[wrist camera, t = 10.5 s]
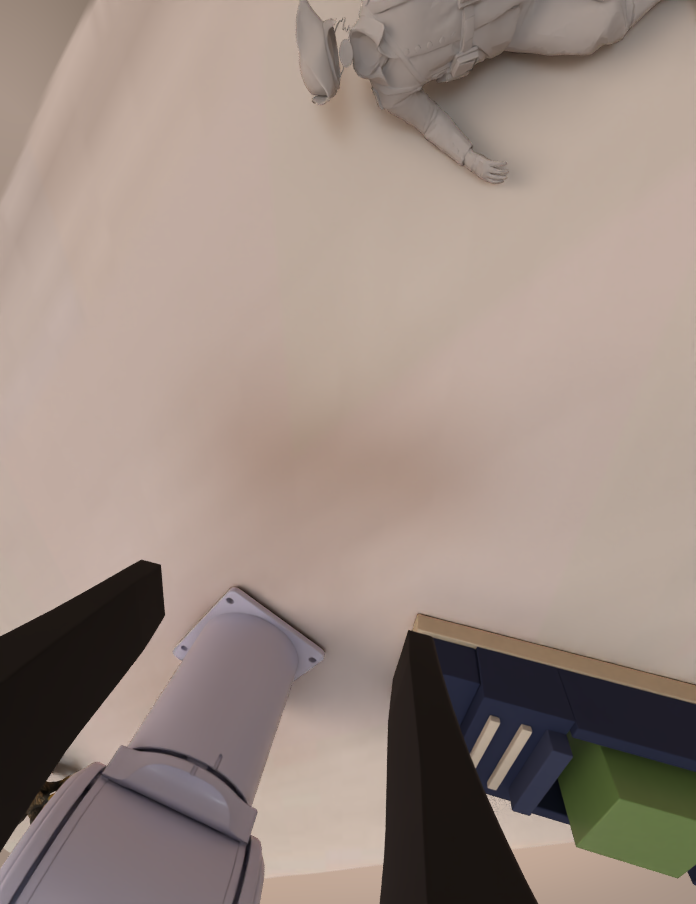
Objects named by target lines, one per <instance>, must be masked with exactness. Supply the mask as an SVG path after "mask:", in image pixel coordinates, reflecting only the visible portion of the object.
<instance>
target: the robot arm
mask: <svg viewBox="0 0 696 904" xmlns="http://www.w3.org/2000/svg"><path fill="white" fill-rule="evenodd" d="M164 616H165V610H164V598H163V585H162V573H161V565H160V564H156V563H152V562H148V561H144V560H140V561H138V562H136V563H135V564H133V565H131V566H129V567H127V568H126V569H124V570H122V571H120V572H119V573H117V574H115V575H113V576H112V577H110V578H108V579H106V580H105V581H103V582H101V583H99V584H98V585H96V586H94V587H92V588H91V589H89V590H87V591H85V592H83V593H82V594H80V595H78V596H76V597H74V598H73V599H71V600H69V601H67V602H65V603H64V604H62V605H60V606H58V607H56V608H55V609H53V610H51V611H49V612H47V613H45V614H43V615H41V616H39V617H37V618H35V619H33V620H31V621H29V622H28V623H26V624H24V625H22V626H20V627H18V628H16V629H14V630H12V631H10V632H8V633H6V634H4V635H2V636H0V852H1V850H2V849H3V847H4V845H5V844H6V842H7V841H8V839H9V838H10V836H11V834H12V833H13V831H14V830H15V828H16V827H17V825H18V824H19V822H20V820H21V819H22V817H23V816H24V814H25V813H26V811H27V809H28V808H29V806H30V805H31V803H32V802H33V800H34V798H35V797H36V795H37V794H38V792H39V791H40V789H41V788H42V786H43V785H44V783H45V782H46V780H47V779H48V777H49V776H50V774H51V773H52V771H53V770H54V768H55V767H56V765H57V764H58V762H59V761H60V759H61V758H62V756H63V755H64V753H65V752H66V750H67V749H68V748H69V746H70V745H71V744H72V742H73V741H74V740H75V738H76V737H77V735H78V734H79V733H80V731H81V730H82V729H83V728H84V726H85V725H86V724H87V722H88V721H89V720H90V719H91V717H92V716H93V715H94V714H95V712H96V711H97V710H98V708H99V707H100V706H101V705H102V703H103V702H104V701H105V699H106V698H107V697H108V696H109V694H110V693H111V692H112V691H113V689H114V688H115V687H116V685H117V684H118V683H119V682H120V680H121V679H122V678H123V676H124V675H125V674H126V673H127V671H128V670H129V669H130V667H131V666H132V665H133V663H134V662H135V661H136V660H137V658H138V657H139V656H140V654H141V653H142V652H143V650H144V649H145V647H146V646H147V644H148V642H149V641H150V639H151V638H152V636H153V635H154V633H155V631H156V630H157V628H158V626H159V625H160V623H161V621H162V620H163V618H164ZM173 654H174V656H176V657H177V658H178V659H180V660H181V661H182V662H181V663H180V665H179V667H178V668H177V670H176V671H175V673H174V674H173V676H172V677H171V679H170V680H169V682H168V684H167V685H166V687H165V688H164V690H163V691H162V693H161V694H160V696H159V697H158V699H157V701H156V702H155V704H154V705H153V707H152V708H151V710H150V711H149V713H148V715H147V716H146V718H145V719H144V721H143V722H142V724H141V725H140V727H139V728H138V730H137V732H136V733H135V735H134V736H133V738H132V740H131V741H130V743H129V744H128V746H127V747H126V746H123V745H121V746H120V747H119V748H118V750H117V751H116V753H115V755H114V756H113V758H112V759H111V761H110V762H109V764H108V765H107V767H106V765H104V764H102V763H100V762H94V763H92V764H90V765H89V766H88V767H86V768H84V769H82V770H80V771H78V772H76V773H74V774H73V775H72V776H70V777H69V778H68V779H67V780H66V781H65V782H64V784H63V785H62V786H61V787H60V788H59V789H58V790H57V792H56V793H55V794H54V795H53V796H52V798H51V799H50V800H49V801H48V803H47V804H46V805H45V806H44V808H43V809H42V810H41V812H40V813H39V814H38V816H37V817H36V818H35V820H34V821H33V822H32V824H31V825H30V826H29V828H28V829H27V831H26V832H25V833H24V835H23V836H22V838H21V839H20V840H19V842H18V843H17V845H16V846H15V848H14V849H13V851H12V852H11V853H10V855H9V856H8V858H7V859H6V861H5V862H4V864H3V865H2V867H1V869H0V904H259V903H260V899H261V893H262V887H263V881H264V860H263V856H262V847H261V842H260V840H259V839H258V838H256V837H254V836H252V835H251V831H252V828H253V825H254V822H255V819H256V816H257V810H256V809H255V808H253V807H252V804H253V801H254V798H255V794H256V791H257V788H258V785H259V782H260V779H261V776H262V773H263V770H264V767H265V764H266V761H267V758H268V755H269V752H270V749H271V746H272V743H273V740H274V737H275V734H276V731H277V728H278V725H279V722H280V719H281V716H282V713H283V710H284V707H285V704H286V701H287V698H288V695H289V692H290V689H291V686H292V683H293V682H294V681H295V680H297V679H298V678H299V677H301V676H302V675H303V674H305V673H306V672H307V671H309V670H310V669H311V668H313V667H314V666H316V665H317V664H318V663H320V662H321V661H322V660H323V659H324V656H325V652H324V650H323V649H321V648H320V647H319V646H317V645H316V644H315V643H313V642H312V641H310V640H309V639H308V638H306V637H305V636H304V635H302V634H301V633H299V632H298V631H297V630H295V629H294V628H293V627H291V626H290V625H288V624H287V623H286V622H284V621H283V620H282V619H280V618H279V617H277V616H276V615H275V614H273V613H272V612H271V611H269V610H268V609H266V608H265V607H264V606H262V605H261V604H260V603H258V602H257V601H255V600H254V599H253V598H251V597H250V596H249V595H247V594H246V593H244V592H243V591H242V590H240V589H239V588H236V587H232V588H230V589H229V590H228V591H227V592H226V594H225V595H224V596H223V597H222V598H221V599H220V600H219V601H218V602H217V603H216V604H215V605H214V606H213V607H212V608H211V609H210V611H209V612H208V613H207V614H206V615H205V616H204V617H203V618H202V619H201V620H200V621H199V622H198V623H197V624H196V625H195V626H194V628H193V629H192V630H191V631H190V632H189V633H188V634H187V635H186V636H185V637H184V638H183V639H182V640H181V641H180V642H179V643H178V645H177V646H176V647H175V648H174V650H173ZM380 904H538V903H537V901H536V899H535V897H534V895H533V893H532V891H531V889H530V887H529V885H528V883H527V881H526V879H525V878H524V875H523V873H522V871H521V869H520V867H519V865H518V863H517V861H516V859H515V857H514V854H513V852H512V850H511V848H510V846H509V844H508V842H507V840H506V838H505V835H504V833H503V831H502V829H501V827H500V824H499V822H498V820H497V818H496V816H495V814H494V811H493V809H492V807H491V804H490V802H489V800H488V798H487V795H486V793H485V790H484V788H483V786H482V783H481V781H480V778H479V776H478V773H477V771H476V768H475V766H474V763H473V761H472V758H471V756H470V753H469V751H468V748H467V745H466V743H465V740H464V737H463V734H462V732H461V729H460V726H459V723H458V720H457V717H456V714H455V712H454V709H453V706H452V703H451V700H450V697H449V693H448V690H447V687H446V684H445V680H444V677H443V674H442V670H441V666H440V663H439V659H438V655H437V651H436V647H435V642H434V639H433V638H432V636H429V635H426V634H422V633H418V632H414V631H410V630H408V633H407V636H406V640H405V643H404V646H403V649H402V652H401V655H400V659H399V662H398V665H397V668H396V671H395V674H394V678H393V684H392V692H391V701H390V710H389V719H388V747H387V789H386V831H385V850H384V863H383V874H382V886H381V896H380Z"/></svg>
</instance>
